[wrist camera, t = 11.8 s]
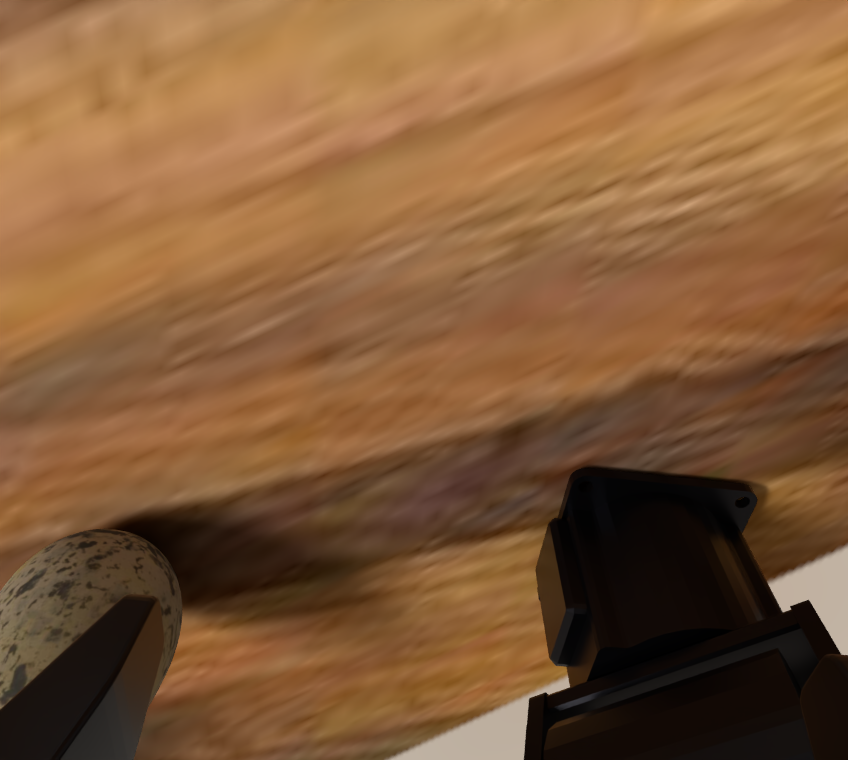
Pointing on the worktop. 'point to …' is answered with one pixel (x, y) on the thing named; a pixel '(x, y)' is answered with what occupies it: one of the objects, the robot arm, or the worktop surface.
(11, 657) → the decorative egg
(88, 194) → the worktop surface
